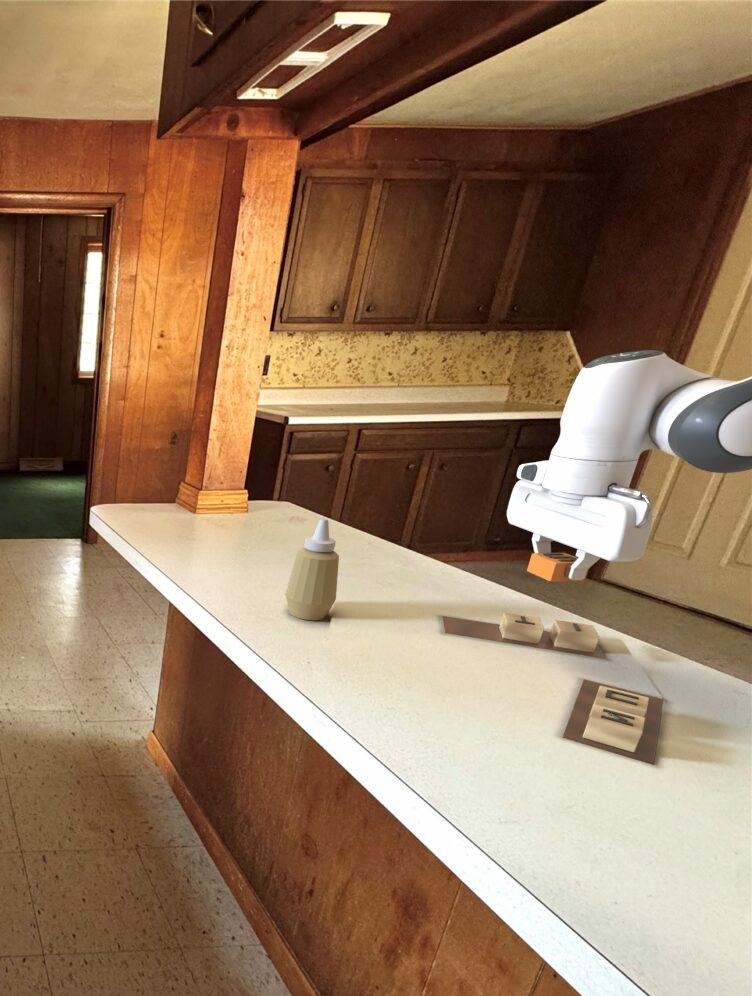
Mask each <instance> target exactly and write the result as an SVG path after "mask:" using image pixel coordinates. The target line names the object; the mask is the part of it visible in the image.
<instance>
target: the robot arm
mask: <svg viewBox="0 0 752 996" xmlns="http://www.w3.org/2000/svg"><path fill="white" fill-rule="evenodd" d="M559 424H560V425H559V426H560V432H559V433H560V434H559V437H558V439H557V442H556V443H555V444H554V446H553V447H552V449H551V451H550V455H549V459H548V460H540V461H536V462H529V463H522V464H520V465H519V466H518V468H517V471H516V478H517V479H519V480H518V481H517V482H515V484H514V486H513V488H512V491H511V494H510V498H509V501H508V505H507V509H506V518H507V521H508V524H509V525H511V526H515V527H518V528H520V529H523V530H526V531H528V532H531V533H533V534H532V537H531V542H532V547H533V553H552V545H551V542H554V541H555V542H558V543H560V544H562V545H565V546H568V547H570V548H574V549H576V553H575V557H577V558H578V559H577V560H576V561H575V562H574V564H573V565H566V568H565V572H564V576H565V577H567V578H569V579H572V580H582V579H584V578H585V575H586V572H587V569H588V568H589V569H590V568H591V567H593V565H594V564H595V563H597V562H598V561H599V560H600V559H603V560H606V561H608V562H615V563H616V562H635V561H637V560H638V559H640V558H642V557H643V556H644V555H645V553H646V550H647V546H648V542H649V538H650V534H651V530H652V524H653V509H654V503H653V502H652V501H651V499H650V497H649V496H648V493H647V492H646V491H644V490H642V489H636V488H630V485H631V482H632V479H633V476H634V473H635V471H636V468H637V465H638V462H639V459H640V456H641V454H642V453H643V452H645V451H648V450H657V451H662V452H664V453H665V454H667V455H671V456H674V457H676V458H678V459H681V460H682V461H684V462H686V463H687V464H689V465H690V466H692V467H693V468H694V467H695V469H699V470H701V471H704V472H708V473H713V474H714V473H715V474H731V473H742V472H745V471H750V470H752V376H750V377H749V376H748V377H747V378H744V379H741V380H738V381H737V380H732V379H728V378H727V379H725V378H722V377H716V376H713V375H710V374H708V373H707V374H706V373H704V372H701V371H698V370H695V369H693V368H690V367H688V366H685V365H683V364H681V363H679V362H677V361H676V360H674V359H672V358H670V357H669V356H668V355H667V354H666V353H665V352H664V351H660V350H655V349H654V350H652V349H651V350H650V349H649V350H647V349H646V350H638V351H637V350H636V351H626V352H619V353H614V354H608V355H605V356H601V357H598V358H595V359H593V360H591V361H590V362H588V363H587V364H585V365H584V366H583V367H582V369H580V371H579V373H578V375H577V376H576V379H575V380H574V382H573V384H572V387H571V389H570V391H569V394H568V396H567V399H566V402H565V405H564V407H563V412H562V414H561V418H560V420H559ZM589 569H588V570H589ZM587 573H588V572H587ZM586 576H587V575H586ZM585 579H586V578H585Z"/></svg>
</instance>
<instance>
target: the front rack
mask: <svg viewBox="0 0 752 996" xmlns="http://www.w3.org/2000/svg"><path fill="white" fill-rule="evenodd" d="M663 701H664V699H663V698H660V697H657V696H652V695H648V694H644V693H641V692H637V691H632V690H630V689H629V690H628V689H624V688H620V687H616V686H612V685H609V684H605V683H600V682H596V681H592V680H588V679H583V681H582V683H581V685H580V688H579V691H578V693H577V696H576V699H575V702H574V704H573V707H572V710H571V712H570V716H569V717H568V720H567V723H566V726H565V728H564V732H563V734H562V739H566V740H569V741H572V742H576V743H579V744H582V745H586V746H589V747H592V748H596V749H599V750H602V751H605V752H609V753H612V754H616V755H618V756H622V757H626V758H629V759H632V760H634V761H635V760H636V761H639V762H642V763H645V764H649V765H654V764H655V756H656V750H657V743H658V737H659V736H658V735H659V730H660V723H661V716H662V709H663Z"/></svg>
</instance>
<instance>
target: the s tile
mask: <svg viewBox="0 0 752 996" xmlns="http://www.w3.org/2000/svg"><path fill="white" fill-rule="evenodd" d="M578 558H579V557H577V556H575V555H572V554H569V553H567V552H551V553H535V552H533V553H531V556H530V558H529V562H528V566H527V569H526V572H528V573H530V574H533V575H535V576H537V577H539V578H541V579H544V580H546V581H548V582H551V583H552V582H553V583H554V582H556V583H557V582H585V581H586V578H587V575H588V573H589V569H590V568H588V569H587V572H586V575H585V578H584V579H582V580H572V579H569V578H567V577H565V576H564V572H565V568H566V565H573V564H574V562H575V561H576V560H577V559H578Z"/></svg>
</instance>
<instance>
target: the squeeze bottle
mask: <svg viewBox="0 0 752 996" xmlns="http://www.w3.org/2000/svg"><path fill="white" fill-rule="evenodd" d="M329 525H330V524H329V518H324V517H323V518H320V519H319V522H318V524H317V526H316V529H315V531H314V533H313V535H310V536H307V537H305V540H304V545H303V548H301V549H298V551H297V553H296V556H295V560H294V563H293V566H292V570H291V573H290V576H289V581H288V584H287V587H286V590H285V598H286V603H287V608H288V612H289V614H290V616H291V615H292V616H293V617H295V618H298V619H300V620H305V621H320V620H324V619H325V618H326V616H328V614H329V612H330V610H331V608H332V607H333V605H334V604H335V602H336V600H337V590H338V589H337V588H338V575H339V564H340V563H339V562H340V561H339V560H340V555H339V554H338V553H337V552H336V551H335V547H336V542H337V541H336V540H335V539H334V538H332V537H330V527H329Z"/></svg>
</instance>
